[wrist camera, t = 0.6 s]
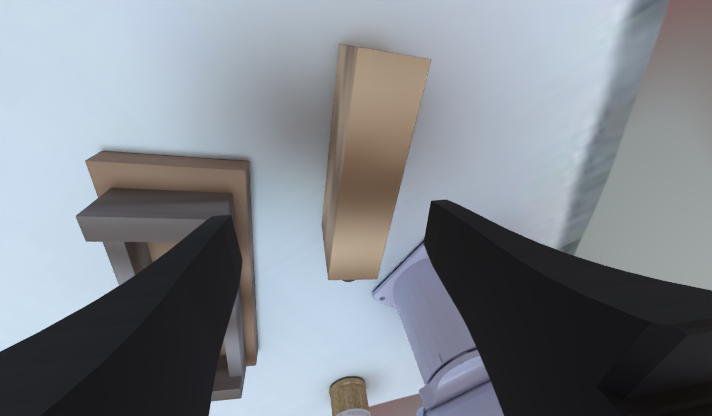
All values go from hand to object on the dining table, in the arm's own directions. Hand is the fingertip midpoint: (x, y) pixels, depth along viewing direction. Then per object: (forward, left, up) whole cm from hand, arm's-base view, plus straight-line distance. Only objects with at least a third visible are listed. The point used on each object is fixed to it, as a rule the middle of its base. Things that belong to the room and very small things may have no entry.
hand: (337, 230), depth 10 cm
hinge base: (+2, +14, -9) cm, 17 cm away
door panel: (-2, -1, -10) cm, 10 cm away
